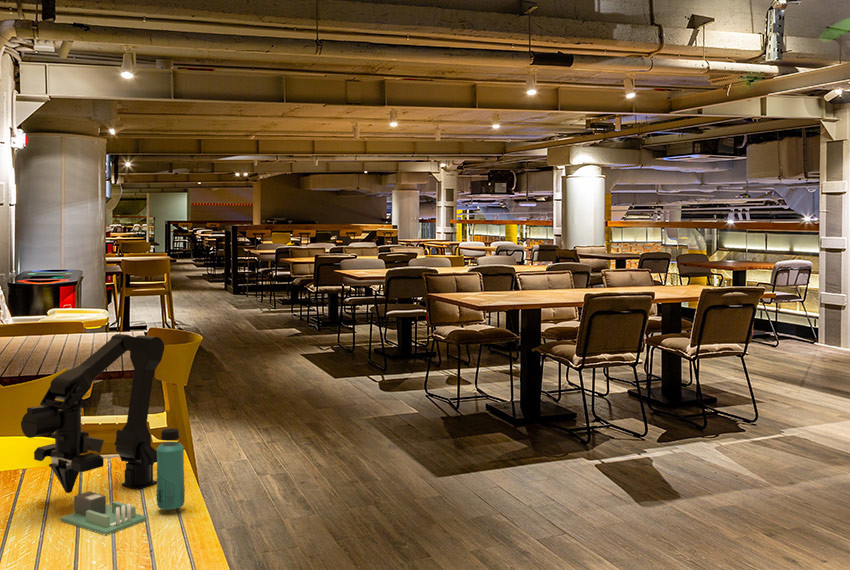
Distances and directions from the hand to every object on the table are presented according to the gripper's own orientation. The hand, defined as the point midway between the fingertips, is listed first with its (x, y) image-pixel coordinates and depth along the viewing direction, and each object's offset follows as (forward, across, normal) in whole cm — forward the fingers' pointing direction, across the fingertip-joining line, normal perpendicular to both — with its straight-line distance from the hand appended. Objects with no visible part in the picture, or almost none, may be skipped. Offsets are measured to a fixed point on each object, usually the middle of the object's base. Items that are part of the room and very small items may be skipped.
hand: (68, 492), depth 184 cm
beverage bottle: (+4, -21, -12) cm, 25 cm away
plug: (+3, -8, 0) cm, 9 cm away
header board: (+4, -13, 0) cm, 14 cm away
